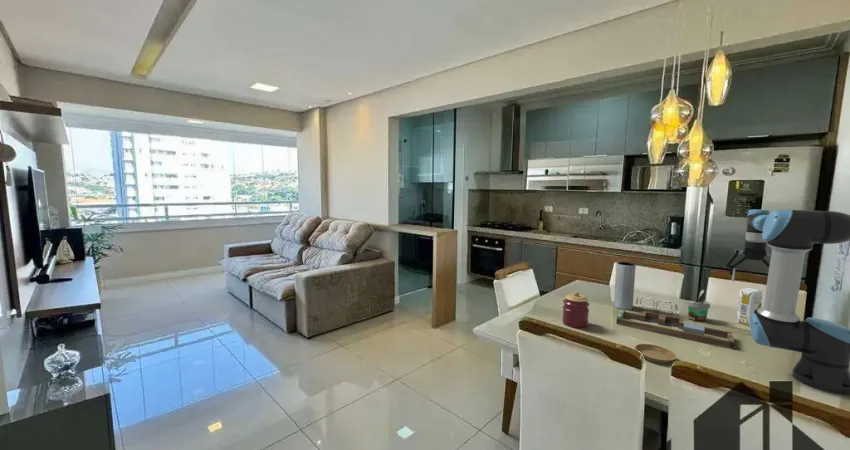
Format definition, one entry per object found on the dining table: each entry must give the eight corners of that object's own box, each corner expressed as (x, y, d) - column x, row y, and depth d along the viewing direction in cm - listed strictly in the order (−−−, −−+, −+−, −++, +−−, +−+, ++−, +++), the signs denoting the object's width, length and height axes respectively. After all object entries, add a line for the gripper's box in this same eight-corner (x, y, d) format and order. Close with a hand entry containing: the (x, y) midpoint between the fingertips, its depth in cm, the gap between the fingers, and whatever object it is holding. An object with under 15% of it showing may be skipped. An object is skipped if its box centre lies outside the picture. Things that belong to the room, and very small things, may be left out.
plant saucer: (677, 356, 149) (678, 351, 148) (673, 370, 138) (673, 363, 137) (638, 346, 158) (638, 340, 158) (631, 357, 147) (631, 352, 147)
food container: (697, 323, 184) (699, 305, 183) (686, 319, 190) (687, 302, 189) (714, 321, 188) (716, 303, 187) (702, 317, 194) (704, 300, 192)
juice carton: (734, 322, 187) (737, 288, 185) (744, 320, 190) (747, 286, 188) (751, 327, 180) (755, 292, 178) (761, 325, 183) (765, 290, 181)
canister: (593, 326, 180) (595, 293, 178) (575, 330, 176) (576, 296, 174) (574, 317, 192) (576, 287, 190) (556, 321, 188) (558, 289, 186)
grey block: (703, 340, 164) (704, 330, 164) (682, 336, 169) (683, 326, 169) (703, 335, 170) (704, 325, 170) (683, 331, 175) (684, 321, 175)
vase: (610, 305, 213) (612, 262, 210) (622, 303, 216) (625, 261, 213) (623, 310, 204) (626, 265, 201) (636, 308, 207) (639, 264, 204)
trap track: (733, 349, 155) (734, 340, 154) (616, 323, 184) (616, 316, 183) (729, 333, 173) (730, 325, 172) (623, 312, 201) (623, 305, 201)
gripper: (791, 242, 163) (786, 286, 165) (721, 238, 178) (717, 278, 180) (794, 244, 157) (789, 290, 159) (722, 239, 172) (718, 280, 175)
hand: (751, 283), depth 170 cm, fingers open, 13 cm apart
